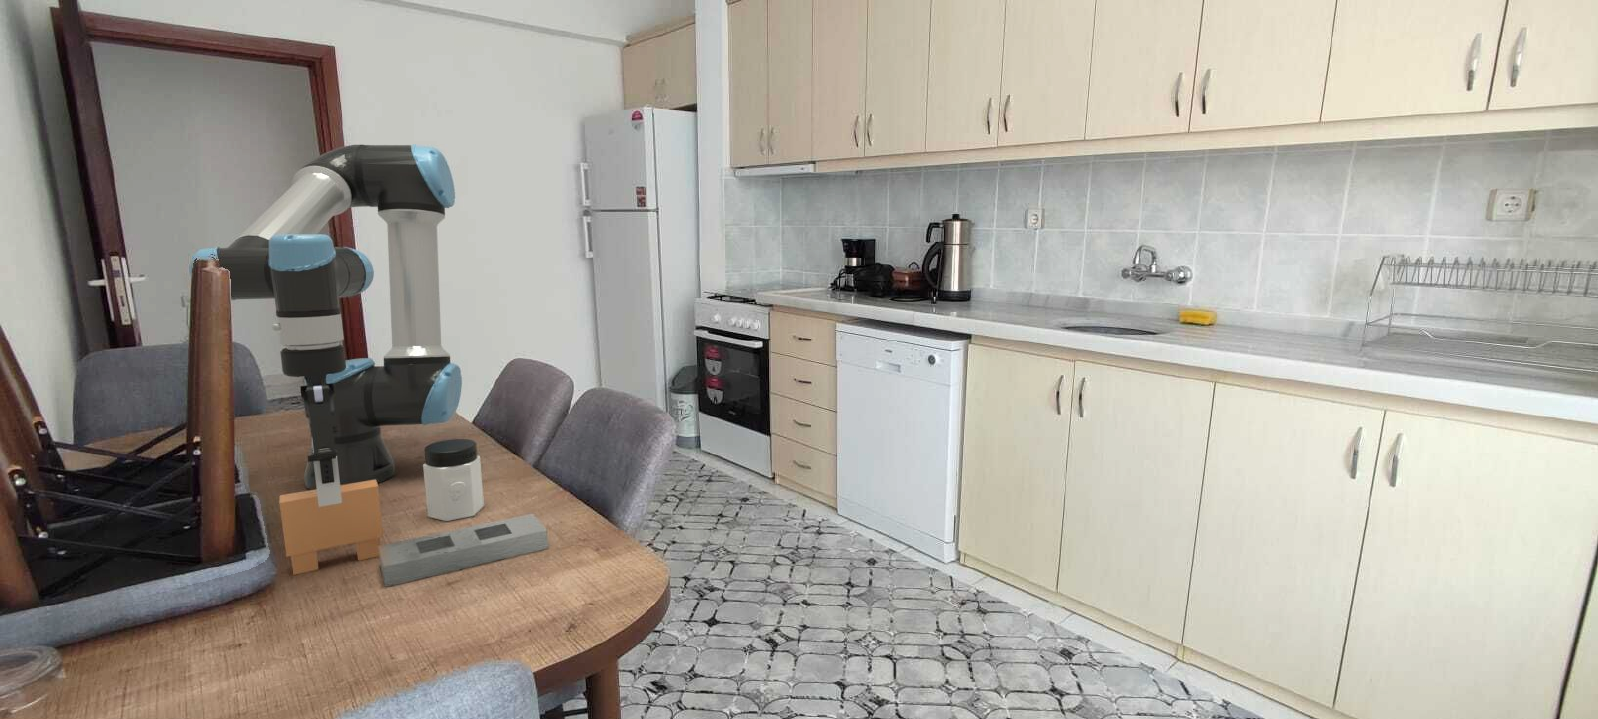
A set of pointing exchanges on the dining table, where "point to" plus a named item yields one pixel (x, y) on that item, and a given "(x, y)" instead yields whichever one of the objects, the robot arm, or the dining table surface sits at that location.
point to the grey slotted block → (460, 549)
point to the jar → (453, 479)
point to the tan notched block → (331, 524)
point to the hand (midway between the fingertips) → (328, 490)
